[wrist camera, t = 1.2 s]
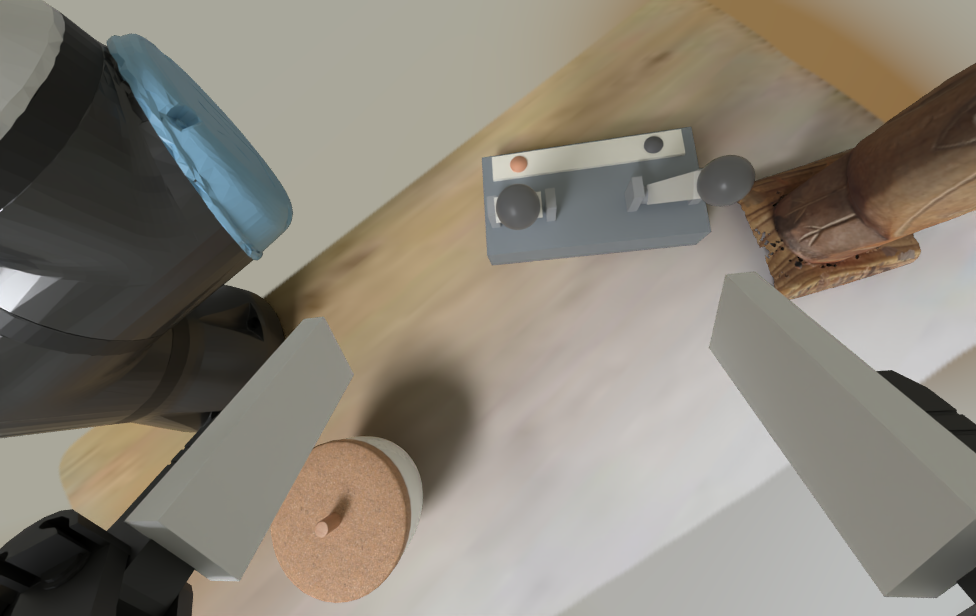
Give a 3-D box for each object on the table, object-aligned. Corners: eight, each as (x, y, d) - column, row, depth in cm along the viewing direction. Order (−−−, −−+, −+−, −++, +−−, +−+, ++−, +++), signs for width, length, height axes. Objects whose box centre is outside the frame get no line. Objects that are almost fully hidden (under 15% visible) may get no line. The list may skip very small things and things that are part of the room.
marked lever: (543, 223, 32) (549, 227, 21) (504, 228, 32) (489, 234, 21) (540, 192, 31) (545, 177, 20) (501, 197, 32) (484, 185, 20)
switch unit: (695, 244, 32) (726, 218, 26) (492, 265, 35) (482, 245, 29) (678, 147, 34) (704, 104, 28) (486, 174, 37) (476, 140, 31)
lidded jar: (360, 407, 34) (294, 419, 25) (457, 456, 32) (422, 489, 23) (313, 513, 33) (225, 567, 24) (409, 572, 31) (352, 656, 22)
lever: (683, 207, 30) (773, 201, 19) (639, 212, 30) (701, 209, 19) (683, 173, 29) (777, 145, 18) (639, 179, 30) (703, 156, 19)
